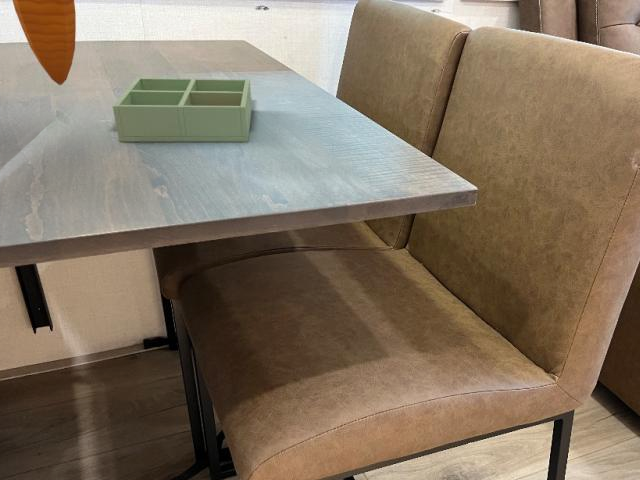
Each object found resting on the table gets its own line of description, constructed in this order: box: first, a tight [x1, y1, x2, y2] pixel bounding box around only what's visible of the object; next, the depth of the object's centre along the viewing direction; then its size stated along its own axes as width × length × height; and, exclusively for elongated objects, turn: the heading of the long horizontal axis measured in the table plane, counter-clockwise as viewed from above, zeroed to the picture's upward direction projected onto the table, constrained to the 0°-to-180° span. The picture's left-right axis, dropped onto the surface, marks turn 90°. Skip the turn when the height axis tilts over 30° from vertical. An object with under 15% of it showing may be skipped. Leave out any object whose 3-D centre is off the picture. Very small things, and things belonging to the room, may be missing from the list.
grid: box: [112, 77, 253, 143], centre depth 80 cm, size 15×15×4 cm
